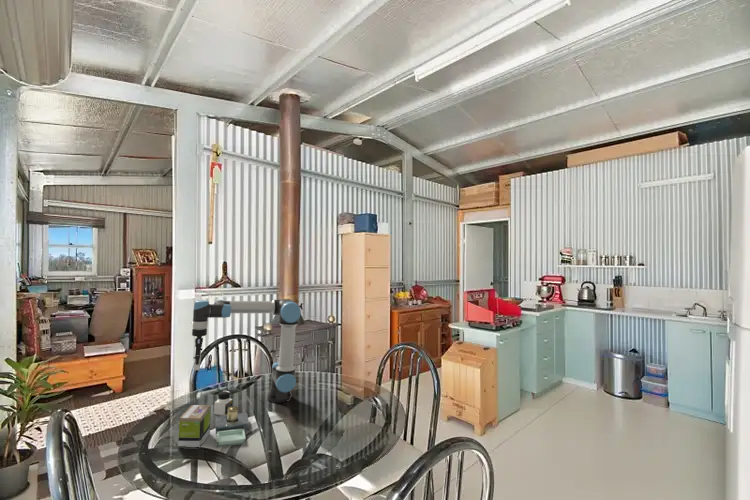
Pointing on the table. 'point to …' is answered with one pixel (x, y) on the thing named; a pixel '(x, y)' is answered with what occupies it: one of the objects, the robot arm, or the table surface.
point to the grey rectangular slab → (232, 423)
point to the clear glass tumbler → (232, 414)
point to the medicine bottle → (223, 403)
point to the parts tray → (230, 437)
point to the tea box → (194, 426)
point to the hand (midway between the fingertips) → (197, 366)
